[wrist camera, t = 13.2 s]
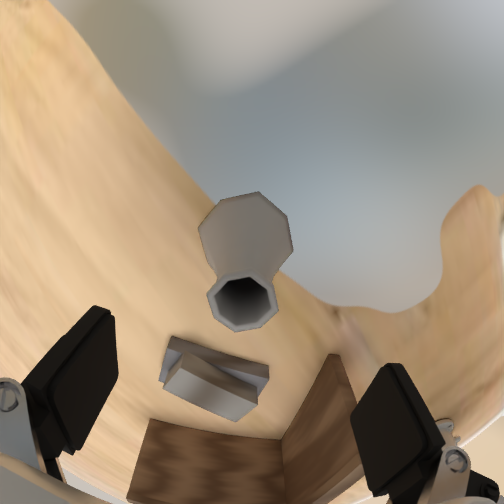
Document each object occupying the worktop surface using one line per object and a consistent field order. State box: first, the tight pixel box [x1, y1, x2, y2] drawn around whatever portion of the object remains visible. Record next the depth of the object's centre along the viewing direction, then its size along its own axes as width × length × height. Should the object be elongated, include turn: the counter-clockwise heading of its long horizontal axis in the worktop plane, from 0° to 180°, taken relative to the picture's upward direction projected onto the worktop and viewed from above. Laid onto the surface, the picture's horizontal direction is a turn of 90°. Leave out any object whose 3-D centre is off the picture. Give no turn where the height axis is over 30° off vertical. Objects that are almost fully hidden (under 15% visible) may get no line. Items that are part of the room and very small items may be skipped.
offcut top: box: [163, 350, 258, 422], centre depth 24 cm, size 8×4×2 cm, turn 54°
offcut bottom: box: [158, 336, 269, 397], centre depth 26 cm, size 10×5×2 cm, turn 69°
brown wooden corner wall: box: [126, 354, 365, 504], centre depth 22 cm, size 19×18×13 cm
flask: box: [198, 192, 293, 332], centre depth 17 cm, size 7×7×10 cm
